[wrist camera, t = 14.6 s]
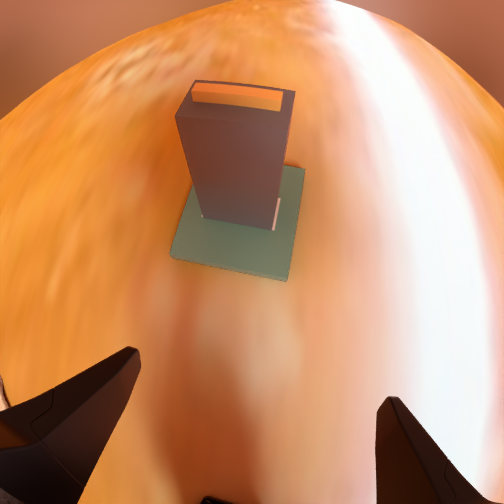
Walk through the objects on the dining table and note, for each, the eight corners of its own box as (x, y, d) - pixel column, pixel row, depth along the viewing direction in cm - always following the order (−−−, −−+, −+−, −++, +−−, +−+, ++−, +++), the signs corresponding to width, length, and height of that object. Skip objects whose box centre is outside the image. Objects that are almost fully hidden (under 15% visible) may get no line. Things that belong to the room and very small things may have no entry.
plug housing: (271, 230, 25) (289, 118, 13) (203, 217, 25) (171, 105, 13) (278, 196, 26) (297, 80, 14) (213, 185, 26) (193, 69, 14)
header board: (286, 281, 24) (292, 266, 21) (172, 257, 25) (159, 239, 21) (303, 175, 28) (310, 149, 25) (206, 158, 29) (201, 132, 25)
